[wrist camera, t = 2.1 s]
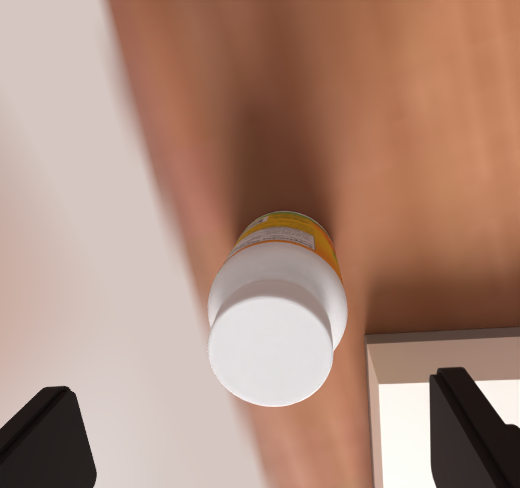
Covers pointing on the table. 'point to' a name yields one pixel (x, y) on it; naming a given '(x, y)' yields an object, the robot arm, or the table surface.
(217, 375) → the supplement bottle
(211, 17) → the table surface
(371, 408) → the socket block
